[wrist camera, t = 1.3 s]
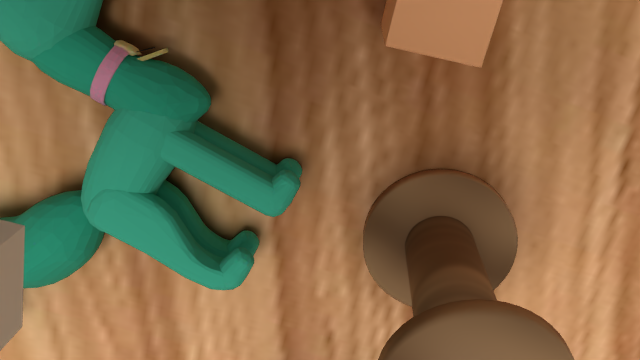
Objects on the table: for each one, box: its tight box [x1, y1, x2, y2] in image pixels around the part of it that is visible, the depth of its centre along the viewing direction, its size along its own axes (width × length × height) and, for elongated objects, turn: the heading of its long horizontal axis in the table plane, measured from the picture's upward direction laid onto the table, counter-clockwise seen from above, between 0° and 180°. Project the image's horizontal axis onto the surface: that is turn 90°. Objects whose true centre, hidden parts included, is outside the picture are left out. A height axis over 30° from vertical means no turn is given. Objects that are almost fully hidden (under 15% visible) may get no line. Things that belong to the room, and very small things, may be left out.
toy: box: [0, 0, 302, 290], centre depth 28 cm, size 7×22×20 cm
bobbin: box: [363, 169, 574, 360], centre depth 24 cm, size 8×8×12 cm
